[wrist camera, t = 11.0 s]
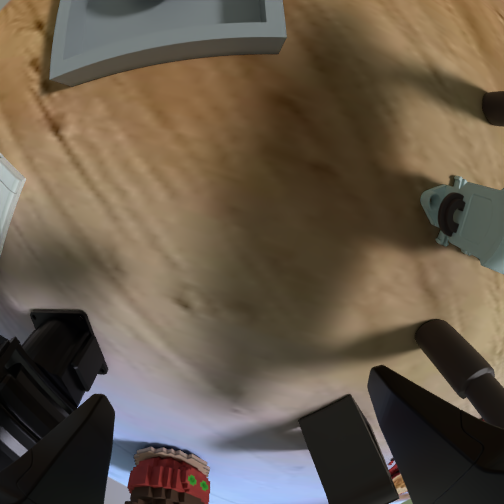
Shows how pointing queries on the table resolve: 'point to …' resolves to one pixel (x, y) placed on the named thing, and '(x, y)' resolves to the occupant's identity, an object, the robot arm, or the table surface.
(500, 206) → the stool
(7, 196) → the hard drive
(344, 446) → the phone stand
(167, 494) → the cake
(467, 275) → the table surface
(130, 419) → the table surface
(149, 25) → the tray
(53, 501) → the robot arm
